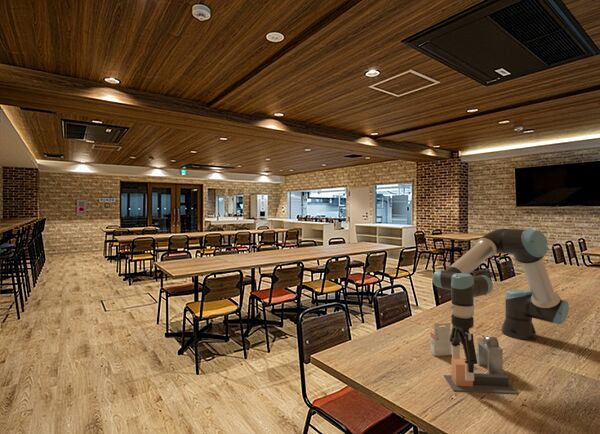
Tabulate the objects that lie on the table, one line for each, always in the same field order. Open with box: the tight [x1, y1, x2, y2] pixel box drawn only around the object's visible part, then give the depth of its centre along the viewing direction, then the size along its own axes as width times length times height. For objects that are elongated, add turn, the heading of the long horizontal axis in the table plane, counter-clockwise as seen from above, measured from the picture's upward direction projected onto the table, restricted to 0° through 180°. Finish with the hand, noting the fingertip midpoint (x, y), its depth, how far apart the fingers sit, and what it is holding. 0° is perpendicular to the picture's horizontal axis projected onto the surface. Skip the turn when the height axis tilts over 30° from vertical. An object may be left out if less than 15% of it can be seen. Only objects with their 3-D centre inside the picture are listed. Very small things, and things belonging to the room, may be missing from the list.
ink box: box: [430, 322, 452, 357], centre depth 151 cm, size 4×8×15 cm, turn 96°
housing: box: [476, 336, 504, 374], centre depth 136 cm, size 5×11×14 cm, turn 174°
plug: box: [450, 358, 510, 387], centre depth 125 cm, size 19×5×8 cm, turn 84°
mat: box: [443, 374, 519, 395], centre depth 125 cm, size 22×11×1 cm, turn 84°
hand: (462, 371), depth 125 cm, fingers open, 13 cm apart
